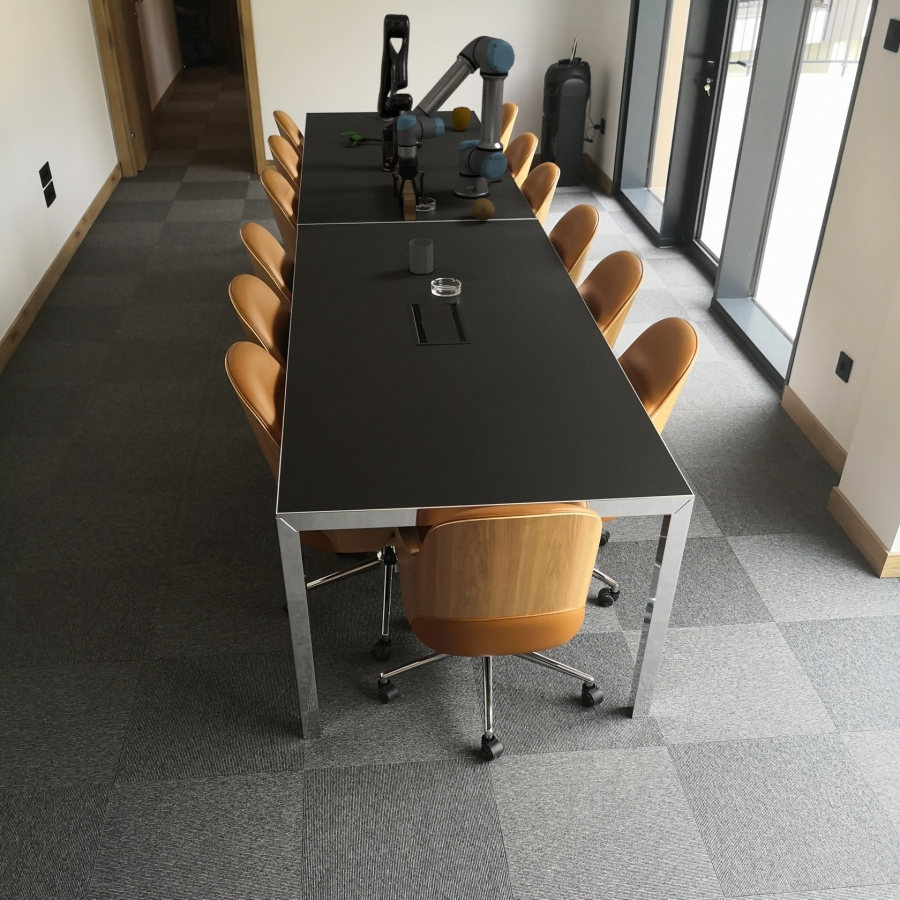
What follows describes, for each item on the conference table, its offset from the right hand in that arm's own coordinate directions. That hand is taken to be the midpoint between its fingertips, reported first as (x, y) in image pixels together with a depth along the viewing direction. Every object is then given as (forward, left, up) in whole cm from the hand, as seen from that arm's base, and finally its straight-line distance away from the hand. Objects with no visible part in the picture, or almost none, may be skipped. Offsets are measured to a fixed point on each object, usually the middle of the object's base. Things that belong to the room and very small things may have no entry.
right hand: (409, 213), depth 361 cm
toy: (-120, -125, -1) cm, 174 cm away
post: (-12, -14, -1) cm, 19 cm away
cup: (+43, +47, -1) cm, 64 cm away
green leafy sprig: (-73, -100, -1) cm, 123 cm away
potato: (-16, +27, -1) cm, 31 cm away
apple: (-131, -84, -1) cm, 155 cm away
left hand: (-25, -28, +3) cm, 37 cm away
